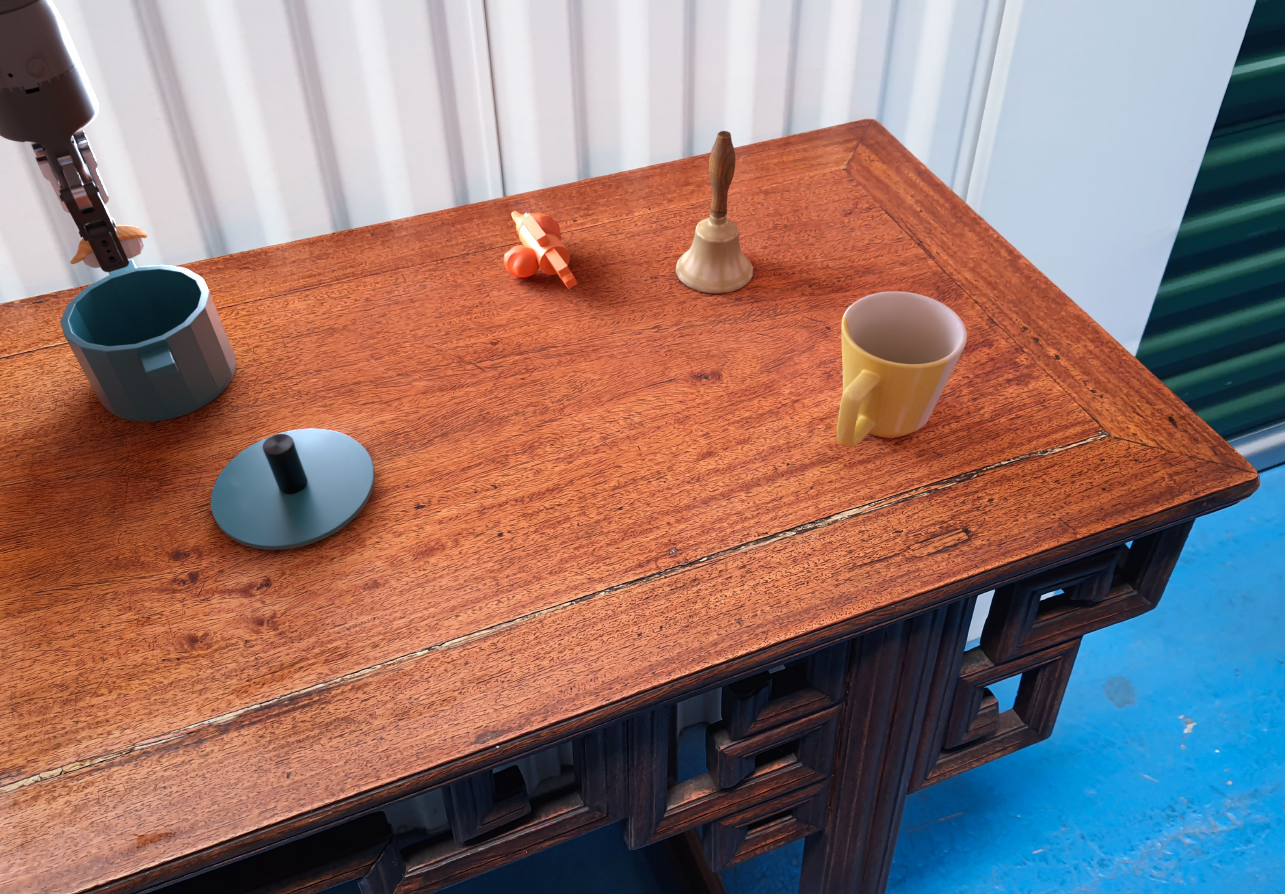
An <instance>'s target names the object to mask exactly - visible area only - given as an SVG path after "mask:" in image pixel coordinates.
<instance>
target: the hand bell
mask: <svg viewBox="0 0 1285 894" xmlns="http://www.w3.org/2000/svg"><path fill="white" fill-rule="evenodd" d="M712 145H713V146H712V148H711V151H710V154H709V157H708V158H709V159H708V176H709V181H710V185H711V193H712V195H711V205H710V212H709V217H706V218H704V219H702V220H700V221H699V222H698V223H697V225H696V226H695V231H694V235H693V239H692V243H691V246H690V248H689V249H688V250H686V251H685V252H684V253H682V254H681V256H680V257H679V259H678V260H677V262H676V264H675V273H676V276H677V278H678V280H679V281H680V282H681V283H682V284H683V285H686V287H688V288H690V289H692V290H694V291H697V292H701V293H705V294H727V293H732V292H735V291H738V290H740V289H742V288H744V287H745V286H747V285H748V284H749V283H750V281H751V280H752V278H753V276H754V268H753V265H752V263H751V260H750V259H749V258H748V256H747V255H745V254H744V253H743V251H742V249H741V245H740V235H739V232H740V231H739V228H738V225H737V224H736V223H735V222H734V221H733V220H731V219H729V218H727V214H728V194H729V188H730V186H731V184H732V182H733V179H734V175H735V169H736V158H737V157H736V152H735V147H734V144H733V140H732V134H731V132H730V131H727V130H720V131H719V132H717V134H716V139H715V141H714V143H713V144H712Z"/></svg>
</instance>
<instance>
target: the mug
mask: <svg viewBox="0 0 1285 894" xmlns="http://www.w3.org/2000/svg"><path fill="white" fill-rule="evenodd" d="M840 327H841V328H840V331H841V333H840V334H841V336H840V337H841V339H840V340H841V364H842V395H841V399H840V403H839V408H838V409H839V410H838V416H837V424H836V433H835V434H836V442H837V443H838V444H839V445H842V447H843V446H844V447H845V448H855V447H856V446H857V445H858V444H860V442H862V441H863V440H864V439H865V438H866V436H868V435H869V434H870V435H872V436H875V437H878V438H885V439H895V438H900V437H904V436H906V435H909V434H912V433H915V432H917V431H919V430H920V429H922V428H923V427H924V426H925V425H926V424H927V423H928V421H930V418H931V416H932V414H933V412H934V410H935V407H936V406H937V403H938V401H939V400H940V398H941V396H942V393H943V392H944V389H945V388H946V385H947V383H948V381H949V380H950V378H951V376H952V374H953V372H954V370H955V368H956V366H957V364H958V362H959V360H960V357H961V355H962V353H963V351H964V349H965V347H966V345H967V340H968V333H967V328H966V326H965V323H964V322H963V320H962V319H961V317H960V316H959V315H958V314H957V313H956V312H955V311H954V310H953V309H952V308H951V307H949V306H948V305H946V304H944V303H943V302H942V301H939V300H937V299H934V298H932V297H930V296H926V295H922V294H920V293H914V292H908V291H894V290H893V291H892V290H891V291H881V292H875V293H872V294H869V295H866V296H863V297H861V298H859V299H856V301H854V302H853V303H851V304H850V305H849V306H848V308H847V309H846V310H845V312H844V314H843V316H842V318H841V325H840Z"/></svg>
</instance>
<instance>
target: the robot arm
mask: <svg viewBox="0 0 1285 894" xmlns="http://www.w3.org/2000/svg"><path fill="white" fill-rule="evenodd" d="M99 106H100V105H99V102H98V99H97V97H96V94H95V92H94V89H93V88H92V85H91V82H90V80H89V78H88V76H87V74H86V71H85V68H84V66H83V64H82V62H81V59H80V57H79V54H78V51H77V50H76V47H75V45H74V43H73V40H72V38H71V35H70V32H69V31H68V29H67V25H66V24H65V22H64V19H63V18H62V15H61V14H60V12H59V10H58V8H57V6H56V5H55V3H54V1H53V0H0V137H1V138H3V139H6V140H8V141H11V142H12V141H13V142H17V143H26V142H27V143H30V145H31V148H32V151H33V152H34V155H35V156H34V158H35V161H36V163H37V165H38V167H39V169H40V171H41V174H42V175H43V178H44V179H45V180H47V181H49V182H50V184H51V186H52V189H53V191H54V193H55V195H56V198H57V199H58V201H59V203H60V205H61V208H62V210H63V211H64V212H66V213H68V214H70V216H71V218H72V220H73V222H74V224H75V226H76V227H77V229H78V235H79V236H80V239H84V241H88V242H89V244H90V246H91V248H92V250H93V252H94V254H95V257H96V259H97V261H98V263H99V265H100V269H101V271H103V272H104V273H109V272H111V271H115V270H118V269H121V268H125V267H127V266H128V265H129V260H130V259H128V258H127V255H126V253H125V251H124V249H123V247H122V244H121V242H120V240H119V238H118V236H117V232H116V230H115V228H117V227H116V225H117V224H116V222H115V219H114V217H111V215H110V213H109V210H108V208H107V206H106V205H107V203H108V202H109V200H110V197H109V194H108V192H107V189H106V187H105V185H104V183H103V180H102V177H101V175H100V172H99V170H98V162H97V159H96V156H95V154H94V152H93V150H92V147H91V145H90V142H89V140H88V137H87V135H86V133H85V131H84V130H81V129H85V128H86V127H87V126H89V125H91V123H92V122H94V120H95V119H96V117H97V116H98V114H99V110H100V109H99V108H100V107H99Z"/></svg>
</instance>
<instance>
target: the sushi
mask: <svg viewBox="0 0 1285 894" xmlns="http://www.w3.org/2000/svg"><path fill="white" fill-rule="evenodd" d="M115 225H116V227H117V228H115V230H116V232H117V236H118V238H119V240H120V242H121V244H122V247H123V249H124V251H125V253H126V255H127V258H128V260H131V259H133V258H135V257H137V256H139V255H141V254H142V251H143V249H144V242H143V239H146V238H148V234H147V233H146V231H144V229H141V228H140V227H138V226H136V225H131V224H115ZM82 261H83V262H84V264H85V265H86V266H87V267H90V268H92V269H98V268H100V269H101V267H100V265H99V263H98V261H97V259H96V257H95V254H94V252H93V250H92V248H91V246H90V244H89V242H88V241H84V239H83V238H81V240H79V243H78V246H77V251H76V254H75V255H74V256H73V257H72V259H71V260H70V264H71V265H75V264H78V263H80V262H82Z"/></svg>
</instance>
